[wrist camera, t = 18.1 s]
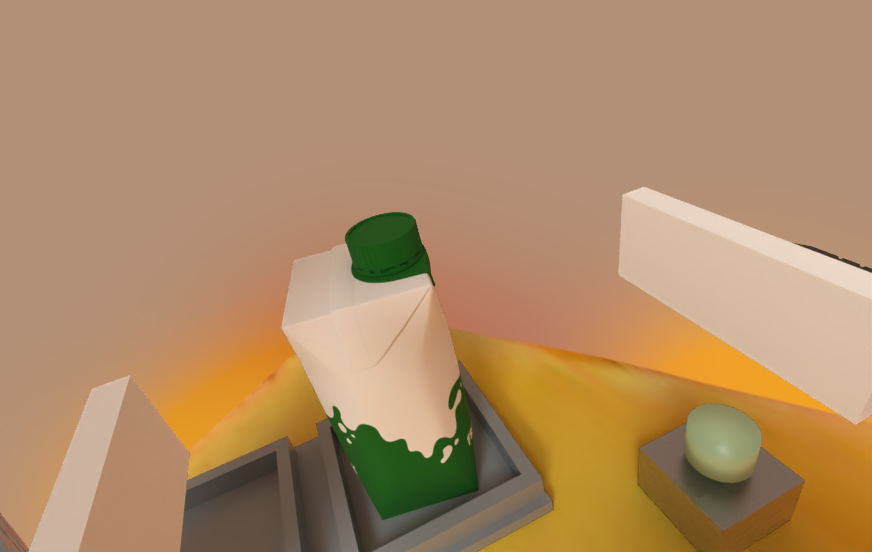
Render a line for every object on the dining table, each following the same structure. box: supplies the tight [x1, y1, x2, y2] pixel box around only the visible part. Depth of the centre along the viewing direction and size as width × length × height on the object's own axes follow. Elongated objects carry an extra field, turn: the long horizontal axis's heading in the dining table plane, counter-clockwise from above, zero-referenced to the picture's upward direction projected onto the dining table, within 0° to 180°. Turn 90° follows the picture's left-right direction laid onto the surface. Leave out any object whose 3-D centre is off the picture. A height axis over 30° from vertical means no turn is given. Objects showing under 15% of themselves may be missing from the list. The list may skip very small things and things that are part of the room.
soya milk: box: [281, 212, 478, 520], centre depth 29 cm, size 9×9×20 cm
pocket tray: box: [180, 360, 553, 552], centre depth 33 cm, size 30×14×3 cm, turn 112°
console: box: [638, 423, 805, 552], centre depth 28 cm, size 6×6×4 cm
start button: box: [684, 404, 762, 483], centre depth 26 cm, size 4×4×2 cm
